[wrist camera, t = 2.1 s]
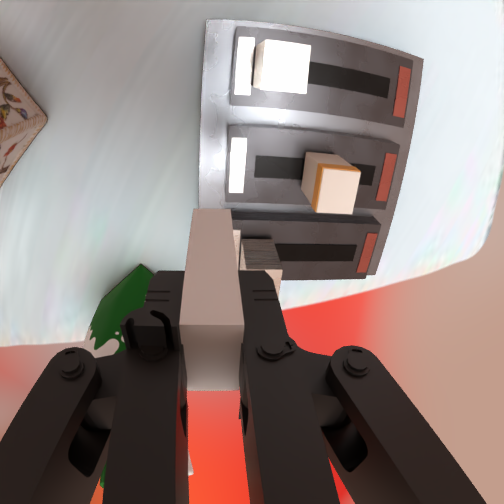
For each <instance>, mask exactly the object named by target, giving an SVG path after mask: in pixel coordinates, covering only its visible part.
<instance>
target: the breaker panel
mask: <svg viewBox="0 0 504 504" xmlns="http://www.w3.org/2000/svg"><path fill="white" fill-rule="evenodd" d="M423 60H424V59H422V58H420V57H417V56H414V55H411V54H408V53H405V52H402V51H399V50H396V49H393V48H390V47H387V46H383V45H380V44H376V43H373V42H369V41H365V40H362V39H358V38H354V37H349V36H345V35H341V34H336V33H331V32H326V31H321V30H316V29H310V28H304V27H298V26H291V25H284V24H276V23H267V22H256V21H244V20H225V19H207V21H206V33H205V46H204V61H203V78H202V97H201V120H200V153H199V209H231V217H232V226H233V235H234V243H235V252H236V260H237V269H238V270H265V271H266V272H267V273H268V274H269V275H270V276H271V278H272V279H273V281H274V284H275V288H276V292H277V295H278V296H279V290H280V283H281V280H335V279H365V278H366V275H375V274H376V271H377V268H378V265H379V262H380V259H381V256H382V252H383V249H384V246H385V243H386V239H387V236H388V233H389V229H390V226H391V222H392V219H393V215H394V211H395V208H396V204H397V200H398V196H399V192H400V188H401V184H402V180H403V176H404V172H405V167H406V163H407V158H408V153H409V149H410V144H411V139H412V134H413V128H414V123H415V117H416V111H417V105H418V99H419V92H420V85H421V77H422V69H423ZM306 152H315V153H325V154H334V155H339V156H340V157H341V158H343V159H344V160H345V161H347V162H348V163H349V164H351V165H352V166H354V167H356V168H357V169H359V170H360V171H361V174H360V179H359V184H358V189H357V194H356V199H355V203H354V208H353V212H352V214H336V213H317V212H315V211H314V210H313V208H312V207H311V203H310V202H309V200H308V199H307V197H306V196H305V194H304V193H303V191H302V190H301V185H302V178H303V171H304V164H305V156H306Z"/></svg>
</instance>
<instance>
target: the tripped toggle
mask: <svg viewBox="0 0 504 504" xmlns="http://www.w3.org/2000/svg"><path fill="white" fill-rule="evenodd" d="M360 174H361V171H360V170H359V169H357V168H356V167H354V166H352V165H351V164H349V163H348V162H347V161H345V160H344V159H343V158H341V157H340V156H339V155H334V154H325V153H315V152H306V156H305V164H304V171H303V178H302V185H301V190H302V191H303V193H304V194H305V196H306V197H307V199H308V200H309V202H310V203H311V207H312V208H313V210H314V211H315V212H317V213H336V214H352V212H353V208H354V203H355V199H356V194H357V189H358V184H359V179H360Z"/></svg>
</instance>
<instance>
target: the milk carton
mask: <svg viewBox="0 0 504 504" xmlns="http://www.w3.org/2000/svg"><path fill="white" fill-rule="evenodd" d="M153 276H154V274H152V273H151V272H150V271H149V270H148V269H146V268H145V267H144V266H143V265H142V264H140V265H139V266H138V267H137V268H136V269H135V270H134V271H132V272H131V273H130V274H129V275H128V276H127V277H126V278H125V279H124V280H123V281H121V282H120V283H119V284H118V285H117V286H116V287H115V288H114V289H113V290H112V291H111V292H109V293H108V294H107V295H106V296H105V297H104V298H103V299H102V300H101V301H100V304H99V306H98V308H97V310H96V312H95V314H94V317H93V319H92V322H91V324H90V327H89V329H88V332H87V335H86V338H85V340H84V344H83V346H82V348H84V349H86V350H87V351H89V352H91V353H92V355H93V356H94V358H98V357H103V356H108V355H113V354H116V353H119V352H121V351H123V350H125V349H126V346H125V342H124V339H123V335H122V331H121V328H120V323H121V321H122V320H123V318H124V317H125V316H126V315H127V314H129V313H130V312H131V311H133V310H136V309H139V308H142V307H143V306H144V302H145V298H146V294H147V290H148V286H149V282H150V279H151V278H152V277H153ZM106 463H107V461H106ZM105 472H106V464H105V466H104V469H103V471H102V474H101V477H100V486H101V487H102V488H104V481H105ZM193 473H194V472H193V468H192V464H191V460H190V456H189V451H188V476H189V475H192V474H193Z"/></svg>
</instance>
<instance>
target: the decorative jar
mask: <svg viewBox="0 0 504 504" xmlns="http://www.w3.org/2000/svg"><path fill="white" fill-rule="evenodd" d="M46 122H47V117H46V116H45V114H44V113H43V112H42V110H41V109H40V108H39V107H38V106H37V104H36V103H35V102H34V101H33V100H32V98H31V97H30V96H29V95H28V93H27V92H26V91H25V90H24V88H23V87H22V86H21V85H20V84H19V82H18V81H17V79H16V78H15V77H14V75H13V74H12V73H11V71H10V70H9V69H8V67H7V66H6V65H5V63H4V62H3V61H2V60H1V58H0V187H1V185H2V184H3V182H4V180H5V179H6V178H7V176H8V174H9V173H10V172H11V170H12V168H13V167H14V165H15V164H16V163H17V161H18V160H19V158H20V157H21V156H22V155H23V153H24V151H25V150H26V149H27V147H28V146H29V145H30V143H31V142H32V141H33V139H34V138H35V136H36V135H37V134H38V133H39V131H40V130H41V129H42V127H43V126H44V125H45V123H46Z"/></svg>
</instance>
